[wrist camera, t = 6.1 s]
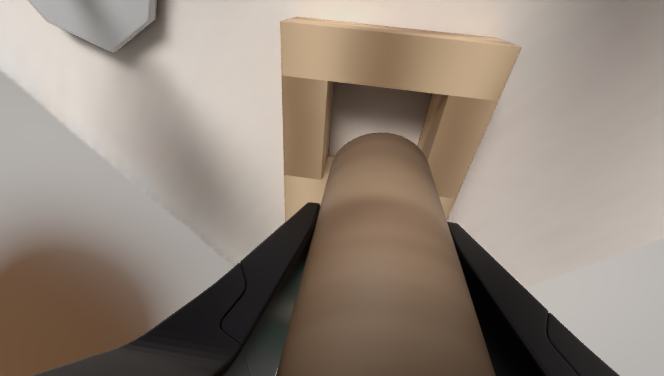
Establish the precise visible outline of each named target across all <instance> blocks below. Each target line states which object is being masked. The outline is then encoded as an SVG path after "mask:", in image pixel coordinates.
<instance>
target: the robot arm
mask: <svg viewBox="0 0 664 376" xmlns="http://www.w3.org/2000/svg"><path fill="white" fill-rule="evenodd" d="M319 210H320V204H319V203H313V202H308V203H307V204H305V205H304V206H303V207H302V208H301V209H300V210H299V211H297V212H296V213H295V214H294V215H293V216H292V217H291V218H290V219H288V220H287V221H286V222H285V223H284V224H283V225H282V226H280V227H279V228H278V229H277V230H276V231H275V232H274V233H272V234H271V235H270V236H269V237H268V238H267V239H266V240H264V241H263V242H262V243H261V244H260V245H259V246H258V247H256V248H255V249H254V250H253V251H252V252H251V253H250V254H249V255H247V256H246V257H245V258H244V259H243V260H242V261H241V262H240V263H238V264H237V265H236V266H235V267H234V268H233V269H231V270H230V271H229V272H228V273H227V274H225V275H224V276H223V277H222V278H221V279H219V280H218V281H217V282H216V283H215V284H213V285H212V286H211V287H209V288H208V289H207V290H205V291H204V292H203V293H201V294H200V295H199V296H197V297H196V298H194V299H193V300H192V301H190V302H189V303H187V304H186V305H185V306H183V307H182V308H181V309H179V310H178V311H176V312H175V313H174V314H172V315H171V316H169V317H168V318H167V319H165V320H164V321H162V322H161V323H160V324H158V325H157V326H155V327H154V328H153V329H151V330H150V331H148V332H147V333H145V334H144V335H142V336H140V337H139V338H137V339H135V340H133V341H131V342H129V343H127V344H125V345H123V346H121V347H118V348H116V349H113V350H110V351H107V352H104V353H100V354H98V355H94V356H91V357H88V358H85V359H82V360H79V361H76V362H73V363H70V364H66V365H63V366H60V367H57V368H54V369H50V370H47V371H44V372H41V373H38V374H35V375H32V376H275V374H276V371H277V368H278V365H279V362H280V358H281V355H282V351H283V347H284V343H285V339H286V336H287V332H288V328H289V324H290V320H291V316H292V313H293V309H294V305H295V301H296V297H297V294H298V290H299V286H300V282H301V278H302V274H303V271H304V267H305V263H306V259H307V255H308V252H309V248H310V244H311V240H312V236H313V233H314V229H315V225H316V221H317V217H318V214H319ZM447 223H448V226H449V229H450V233H451V236H452V239H453V242H454V245H455V248H456V252H457V255H458V258H459V261H460V264H461V267H462V271H463V274H464V277H465V280H466V283H467V286H468V290H469V293H470V296H471V299H472V302H473V305H474V309H475V312H476V315H477V318H478V321H479V324H480V328H481V331H482V334H483V337H484V340H485V343H486V347H487V350H488V353H489V356H490V359H491V362H492V366H493V369H494V372H495V375H496V376H619V375H618V374H617V373H616V372H615V371H614V370H612V369H611V368H610V367H609V366H608V365H607V364H606V363H604V362H603V361H602V360H601V359H600V358H599V357H598V356H596V355H595V354H594V353H593V352H592V351H590V349H589V348H587V347H586V346H585V345H584V344H583V343H582V342H581V341H580V340H579V339H578V338H576V337H575V336H574V335H573V334H572V333H571V332H570V331H569V330H568V329H567V328H566V327H564V325H562V323H560V322H559V321H558V320H557V319H556V318H555V317H554V316H553V315H552V314H551V313H548V310H547V309H546V308H545V307H544V306H542V304H541V303H540V302H538V301H537V300H536V299H535V298H534V297H533V296H532V295H531V294H530V293H529V292H528V291H527V290H526V289H525V288H524V287H523V286H522V285H521V284H520V283H519V282H518V281H517V280H516V279H515V278H514V277H512V276H511V275H510V274H509V273H508V272H507V271H506V270H505V269H504V268H503V267H502V266H501V265H500V264H499V263H498V262H497V261H496V260H495V259H494V258H493V257H492V256H491V255H490V254H489V253H488V252H486V251H485V250H484V249H483V248H482V247H481V246H480V245H479V244H478V243H477V242H476V241H475V240H474V239H473V238H472V237H471V236H470V235H469V234H468V233H467V232H466V231H465V230H464V229H463V228H462V227H460V226H459V225H458V224H457V223H452V222H447Z"/></svg>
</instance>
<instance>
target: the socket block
mask: <svg viewBox="0 0 664 376" xmlns="http://www.w3.org/2000/svg"><path fill="white" fill-rule="evenodd" d="M280 30H281V69H282V109H283V149H284V189H285V222H286V221H287V220H288V219H290V218H291V217H292V216H293V215H294V214H295V213H296V212H297V211H299V210H300V209H301V208H302V207H303V206H304V205H305V204H307V203H308V202H313V203H319V204H320V206H321V202H322V198H323V194H324V190H325V187H326V183H327V179H328V175H329V171H330V167H331V164H332V161H333V159H334V157H333V156H328V150H329V138H330V125H331V113H332V101H333V89H334V82H341V83H349V84H358V85H366V86H375V87H383V88H392V89H400V90H409V91H417V92H425V93H433V94H432V98H431V101H430V105H429V108H428V111H427V115H426V118H425V122H424V125H423V129H422V132H421V135H420V139H419V142H418V147H419V148H420V149H421V151H422V152H423V153H424V155H425V156H426V158H427V161H428V163H429V166H430V169H431V172H432V176H433V179H434V182H435V185H436V188H437V191H438V195H439V198H440V201H441V204H442V207H443V210H444V214H445V217H446V220H447V218H448V216H449V213H450V211H451V209H452V206H453V204H454V202H455V200H456V197H457V195H458V193H459V190H460V188H461V186H462V184H463V181H464V179H465V177H466V174H467V172H468V170H469V167H470V165H471V163H472V161H473V158H474V156H475V154H476V151H477V149H478V147H479V144H480V142H481V140H482V138H483V135H484V133H485V131H486V128H487V126H488V124H489V121H490V119H491V117H492V115H493V112H494V110H495V108H496V105H497V103H498V101H499V99H500V96H501V94H502V92H503V89H504V87H505V85H506V82H507V80H508V78H509V76H510V73H511V71H512V69H513V66H514V64H515V62H516V59H517V57H518V55H519V53H520V50H521V48H522V47H520V46H517V45H515V44H512V43H509V42H506V41H503V40H500V39H497V38H491V37H482V36H472V35H463V34H453V33H444V32H434V31H425V30H415V29H406V28H396V27H387V26H377V25H368V24H358V23H349V22H339V21H330V20H320V19H311V18H301V17H295V18H291V19H287V20H283V21H280Z"/></svg>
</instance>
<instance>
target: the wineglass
mask: <svg viewBox="0 0 664 376" xmlns="http://www.w3.org/2000/svg"><path fill="white" fill-rule="evenodd" d="M28 1H29V2H30V4H31V5H32V6H33V7H34V8H35V9H36V10H37V11H38V12H39V14H40V15H41V16H42V17H43V18H44V19H45V20H46V21H47V22H49V23H51V24H53V25H55V26H57V27H59V28H61V29H63V30H65V31H67V32H70V33H72V34H74V35H76V36H78V37H80V38H82V39H84V40H86V41H88V42H90V43H93V44H95V45H97V46H99V47H101V48H103V49H105V50H107V51H109V52H116V51H118V50H119V49H120V48H121V47H123V46H124V45H125V44H126V43H127V42H129V41H130V40H131V39H132V38H133V37H135V36H136V35H137V34H138V33H140V32H141V31H142V30H143V29H144V28H146V27H147V26H148V25H149V24H150V23H152V22H153V21H154V20H155V19H156V7H157V0H28Z"/></svg>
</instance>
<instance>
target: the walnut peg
mask: <svg viewBox="0 0 664 376" xmlns="http://www.w3.org/2000/svg"><path fill="white" fill-rule="evenodd" d="M276 376H496V375H495V372H494V369H493V366H492V362H491V359H490V356H489V353H488V350H487V347H486V343H485V340H484V337H483V334H482V331H481V328H480V324H479V321H478V318H477V315H476V312H475V309H474V305H473V302H472V299H471V296H470V293H469V290H468V286H467V283H466V280H465V277H464V274H463V271H462V267H461V264H460V261H459V258H458V255H457V252H456V248H455V245H454V242H453V239H452V236H451V233H450V229H449V226H448V223H447V220H446V217H445V214H444V210H443V207H442V204H441V201H440V198H439V195H438V191H437V188H436V185H435V182H434V179H433V176H432V172H431V169H430V166H429V163H428V161H427V158H426V156H425V155H424V153H423V152H422V151H421V149H420V148H419V147H418V146H416V145H415V144H414V143H413V142H411V141H410V140H408V139H406V138H404V137H401V136H398V135H395V134H390V133H372V134H366V135H363V136H360V137H358V138H355V139H353V140H352V141H350V142H348V143H347V144H346V145H344V146H343V147H342V148H341V149H340V150H339V151H338V153H337V154H336V156H335V157H334V159H333V161H332V164H331V167H330V171H329V175H328V179H327V183H326V187H325V190H324V194H323V198H322V202H321V206H320V210H319V214H318V217H317V221H316V225H315V229H314V233H313V236H312V240H311V244H310V248H309V252H308V255H307V259H306V263H305V267H304V271H303V274H302V278H301V282H300V286H299V290H298V294H297V297H296V301H295V305H294V309H293V313H292V316H291V320H290V324H289V328H288V332H287V336H286V339H285V343H284V347H283V351H282V355H281V358H280V362H279V366H278V370H277V374H276Z"/></svg>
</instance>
